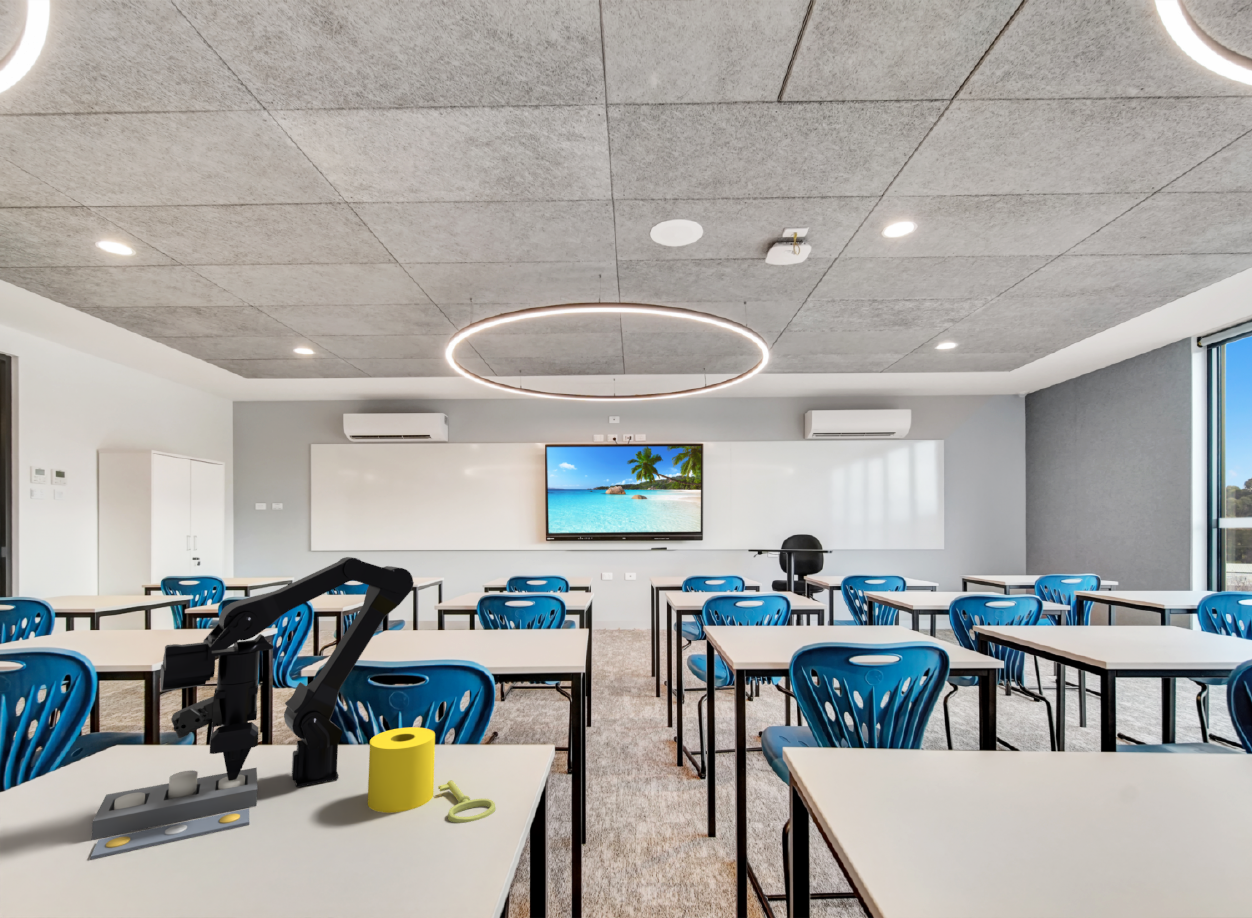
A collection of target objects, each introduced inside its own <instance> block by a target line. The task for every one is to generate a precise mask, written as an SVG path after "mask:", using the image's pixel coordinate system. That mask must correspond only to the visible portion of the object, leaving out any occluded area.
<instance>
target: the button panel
mask: <svg viewBox="0 0 1252 918" xmlns="http://www.w3.org/2000/svg"><path fill="white" fill-rule="evenodd" d="M239 775H244V776H245V785H243V786H237V787H232V788H227V789H222V790H218V786H219V780H221V779H222V778H224V777H227V772H224V773H223V772H222V773H219V774H214V775H213V774H212V775H207V776H203V777H197V791H196V794H195V795H190V796H185V797H180V798H174V799H168V792H169V782H168V783H164V784H157V785H153V786H147V787H142V788H134V789H129V790H124V791H119V792H113V793H108V794H106V795H105V796H104V798H103V801H102V802H101V804H100V806H99V807H98V809H97V812H96V814H95V816H94V817H93V820H92V823H91V824H92V825H91V826H92V827H91V838H90V839H91V841H93V840H99V839H104V838H109V837H114V836H119V835H124V834H128V833H133V832H138V831H143V830H148V829H152V828H157V827H162V826H167V825H172V824H177V823H181V822H186V821H191V820H196V819H201V818H206V817H210V816H215V815H220V814H225V813H230V812H234V811H239V810H244V809H249V808H253V807H256V806H257V803H258V768H257V767H253V768H252V767H251V768H247V769H241V770H240V773H239ZM131 793H145V804H143V805H138V806H132V807H127V808H122V809H117V810H114V803H115V800H116V799H117V798H119V797H121V796H123V795H127V794H131Z"/></svg>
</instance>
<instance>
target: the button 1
mask: <svg viewBox="0 0 1252 918" xmlns="http://www.w3.org/2000/svg"><path fill="white" fill-rule="evenodd" d="M143 804H145V793H131V794H127V795H123V796H121V797H119V798H117V799H116V800H115V803H114V810H117V809H122V808H127V807H132V806H138V805H143Z"/></svg>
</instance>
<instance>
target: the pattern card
mask: <svg viewBox="0 0 1252 918" xmlns="http://www.w3.org/2000/svg"><path fill="white" fill-rule="evenodd" d="M249 825H250V808H243V809H238V810H234V811H229V812H224V813H219V814H214V815H209V816H205V817H200V818H195V819H190V820H185V821H180V822H176V823H171V824H166V825H161V826H156V827H152V828H147V829H142V830H137V831H132V832H128V833H123V834H118V835H113V836H108V837H104V838H99V839H97V841H96V844H95V846H94V849H93V850H92V852H91V855H90V860H95V859H100V858H103V857H107V856H114V855H117V854H122V853H126V852H131V851H132V852H133V851H135V850H136V851H137V850H140V849H144V848H149V847H150V848H151V847H154V846H157V845H162V844H167V843H173V842H177V841H180V840H185V839H190V838H194V837H199V836H203V835H204V836H205V835H208V834H213V833H214V834H215V833H216V832H217V833H218V832H222V831H227V830H231V829H235V828H236V829H237V828H240V827H245V826H249Z"/></svg>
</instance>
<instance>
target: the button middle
mask: <svg viewBox="0 0 1252 918" xmlns="http://www.w3.org/2000/svg"><path fill="white" fill-rule="evenodd" d="M198 773H199V772H198V771H197V770H183V771H179V772H176V773H173V774H172V775H170V776H169V781H168V783H169V792H168V799H174V798H180V797H185V796H190V795H195V794H196V791H197V778H198Z"/></svg>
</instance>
